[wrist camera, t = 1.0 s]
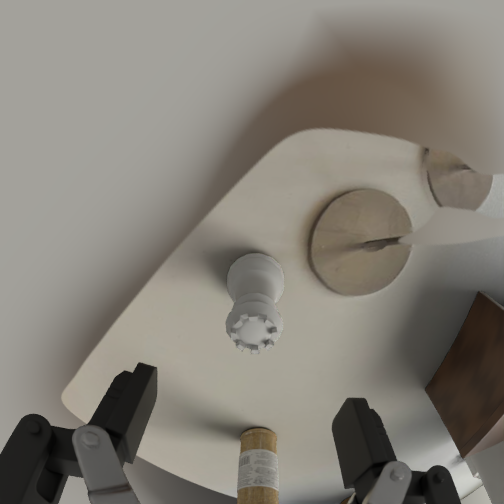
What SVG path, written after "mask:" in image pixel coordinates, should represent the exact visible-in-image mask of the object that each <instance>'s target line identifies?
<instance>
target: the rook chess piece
mask: <svg viewBox="0 0 504 504" xmlns="http://www.w3.org/2000/svg"><path fill="white" fill-rule="evenodd" d="M227 288H228V293H229V295H230V296H231V298H232V300H233V302H234V306H233V308H232V311H231V312H230V313H229V315H228V317H227V320H226V330H227V333H228V335H229V336H230V338H231V340H233V341H234V342H235V343H236V347H237V348H238V349H239V350H241V351H243V350H244V349H245V348H249V349H251V354H259V349H261V348H264V347H265V349H266V350H267V351H268V350H269V349H271V348H272V347H273V346H274V342H275V341H276V340H278V339H279V337H280V335H281V333H282V331H283V320H282V318H281V316H280V314H279V312H278V309H277V306H276V303H277V302H278V301H279V299H280V297H281V295H282V293H283V291H284V273H283V271H282V269H281V266H280V264H278V263H277V262H276V261H275V260H274V259H273V258H272V257H270V256H267V255H264V254H261V253H254V254H247V255H245V256H242V257H240V258H238V259H237V260H236V261H235V262H234V263H233V264H232V265H231V267H230V270H229V272H228V275H227Z"/></svg>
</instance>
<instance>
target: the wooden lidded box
mask: <svg viewBox="0 0 504 504" xmlns="http://www.w3.org/2000/svg"><path fill="white" fill-rule="evenodd" d="M425 391H426V393H427V394H428V396H429V398H430V400H431V401H432V403H433V405H434V406H435V408H436V410H437V412H438V413H439V415H440V417H441V419H442V421H443V422H444V424H445V426H446V428H447V430H448V431H449V433H450V435H451V437H452V439H453V441H454V443H455V445H456V447H457V449H458V450H459V453H460V455H461V457H462V458H466V457H468V456H471V455H473V454H476V453H478V452H481V451H483V450H485V449H487V448H490V447H492V446H494V445H496V444H498V443H500V442H502V441H504V307H503V306H501V305H500V304H499V303H498V302H496V301H495V300H494V299H492V298H491V297H490V296H488V295H487V294H486V293H484V292H481V291H478V294H477V296H476V298H475V301H474V303H473V305H472V307H471V310H470V312H469V314H468V316H467V318H466V320H465V322H464V324H463V326H462V328H461V330H460V332H459V334H458V336H457V338H456V340H455V341H454V343H453V345H452V347H451V349H450V350H449V352H448V354H447V356H446V357H445V359H444V361H443V362H442V364H441V366H440V367H439V369H438V370H437V372H436V374H435V375H434V377H433V378H432V380H431V381H430V383H429V384H428V386H427V387H426V389H425Z"/></svg>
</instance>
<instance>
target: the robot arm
mask: <svg viewBox="0 0 504 504" xmlns="http://www.w3.org/2000/svg"><path fill="white" fill-rule="evenodd" d="M156 397H157V367H154V366H150V365H147V364H144V363H140V362H139V363H138V364H137V366H136V368H135V370H134V372H133V373H131V372H128V371H123V372H122V373H120V374H119V375H117V376H116V377H115V378H114V380H113V382H112V383H111V385H110V388H108V390H107V392H106V395H104V397H103V399H102V401H101V402H100V404H99V406H98V408H97V409H96V411H95V413H94V415H93V416H92V418H91V420H90V421H89V423H88V424H87V425H83V426H81V427H79V428H77V429H66V428H61V427H55V426H51V425H50V423H49V422H48V421H47V419H45V418H44V417H43V416H41V415H38V414H29V415H26V416H24V417H23V418H22V419H21V420H20V422H19V423H18V425H17V426H16V428H15V430H14V431H13V433H12V435H11V436H10V438H9V440H8V442H7V443H6V445H5V447H4V449H3V451H2V452H1V454H0V504H58V503H59V500H60V498H61V495H62V492H63V489H64V487H65V484H66V481H67V478H68V476H69V475H70V476H75V477H81V478H84V481H85V484H86V486H87V489H88V497H89V500H90V503H91V504H140V502H139V500H138V498H137V496H136V494H135V493H134V491H133V489H132V487H131V485H130V484H129V482H128V480H127V477H126V475H125V473H124V471H123V469H122V468H123V465H124V463H125V462H128V463H131V464H133V461H134V458H135V456H136V453H137V450H138V447H139V445H140V442H141V439H142V436H143V434H144V431H145V428H146V426H147V423H148V421H149V418H150V415H151V413H152V410H153V407H154V405H155V402H156ZM383 426H384V425H383V423H382V420H381V418H380V416H379V415H378V414H377V413H376V412H375V410H374V409H370V408H369V405H368V403H367V401H366V399H365V398H347V399H346V400H345V402H344V404H343V405H342V407H341V409H340V410H339V412H338V413H337V415H336V416H335V418H334V420H333V423H332V432H333V437H334V441H335V446H336V450H337V455H338V459H339V464H340V468H341V473H342V478H343V483H344V488H345V489H349V488H354V489H355V493H354V494H353V495H352V496H351V498H350V499H349V501H348V503H347V504H425V503H426V504H461V502H460V499H459V496H458V493H457V490H456V487H455V485H454V482H453V479H452V477H451V474H450V472H449V471H448V470H447V469H446V468H445V467H443V466H440V465H436V466H433V467H431V468H430V469H429V470H428V471H427V472H421V471H411V470H410V468H409V467H408V466H407V465H406V464H405V463H403V462H400V461H397V459H396V456H395V454H394V451H393V448H392V446H391V443H390V441H389V438H388V435H386V430H385V428H384V427H383Z"/></svg>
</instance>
